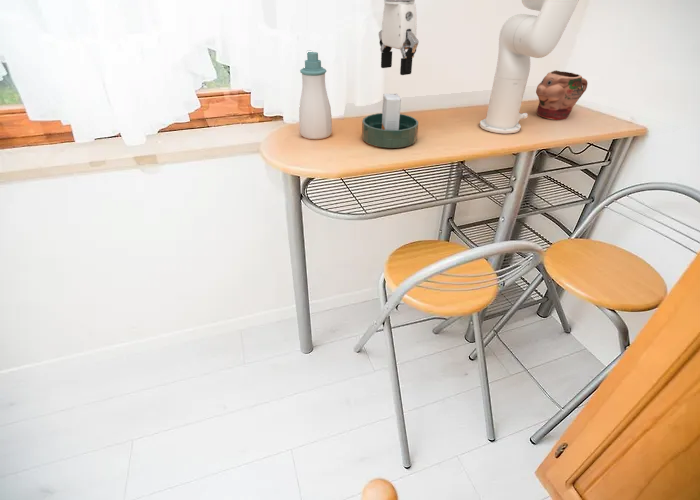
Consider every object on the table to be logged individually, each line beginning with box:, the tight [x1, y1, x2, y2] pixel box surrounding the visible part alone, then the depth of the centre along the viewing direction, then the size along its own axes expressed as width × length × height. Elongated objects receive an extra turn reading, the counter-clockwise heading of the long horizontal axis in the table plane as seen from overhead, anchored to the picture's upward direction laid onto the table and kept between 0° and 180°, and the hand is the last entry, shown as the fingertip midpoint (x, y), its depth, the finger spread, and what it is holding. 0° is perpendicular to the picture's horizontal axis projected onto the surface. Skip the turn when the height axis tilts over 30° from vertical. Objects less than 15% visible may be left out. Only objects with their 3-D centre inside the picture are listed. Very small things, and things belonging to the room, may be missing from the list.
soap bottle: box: [298, 51, 333, 140], centre depth 115 cm, size 10×10×23 cm
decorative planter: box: [535, 70, 589, 121], centre depth 136 cm, size 20×12×14 cm, turn 114°
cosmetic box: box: [381, 93, 402, 130], centre depth 115 cm, size 6×4×12 cm
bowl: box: [361, 112, 419, 149], centre depth 118 cm, size 16×16×6 cm
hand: (395, 70), depth 108 cm, fingers open, 9 cm apart
